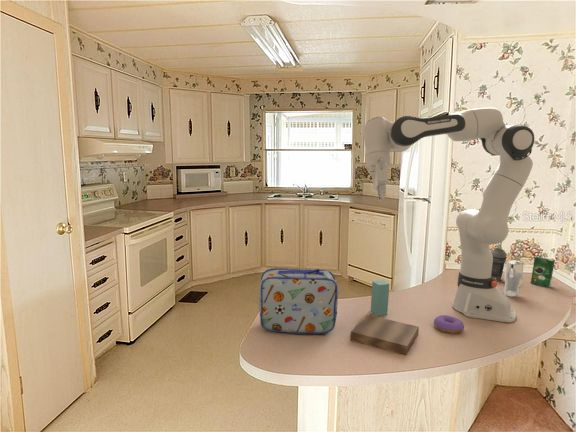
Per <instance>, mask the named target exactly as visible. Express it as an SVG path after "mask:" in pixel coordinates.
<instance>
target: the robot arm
mask: <svg viewBox="0 0 576 432" xmlns="http://www.w3.org/2000/svg"><path fill="white" fill-rule="evenodd" d="M439 135H447V137H448V138H449V139H450V140H451V141H453V142H469V141H473V140H477V139H479V140H480V141H481V144H482V145H481V146H482V147H483V149H484V150H485V152H487V154H490V155H492V156H499V163H498V165H497V168H496V169H495V171H494V173H493V174H492V176H491V177H490V179H489V180H488V182H487V184H486V185H485V187H484V189H483V191H482V203H481V206H480V209H476V208H475V209H474V208H473V209H472V208H469V209H464V210H462V211H460V212H459V213H458V214H457V217H456V218H455V219H456V220H455V222H456V223H455V224H456V226H457V229H458V233H459V241H460V249H461V257H460V258H461V259H460V266H459V273H458V274H457V290H456V293H455V297H454V299H453V303H452V304H451V306H452V308H453V309H454V310H456V311H458V312H460V313H462V314H463V315H464V316H466V317H467V318H474V319H480V320H488V321H494V322H501V323H509V324H510V323H513V322H515V321H516V319H517V313H516V311H515V310H514V309H512V308H511V303H510V298H508V296H506V295H504V294H503V291H501V290H500V289H499V288H498V287H497V286H498V282H497V281H496V278H493V277H492V276H491V272H492V263H493V255H492V253H491V252H492V251H491V248H490V245H500V243H501V242H502V243H503V242H504V241H505V240H506V239H507V237H508V234H509V225H508V220H509V215H510V213H511V210H512V207H513V204H514V203H515V201H516V200H517V198H518V196H519V194H520V193H521V191H522V189H523V187H524V186H525V184H526V182H527V180H528V179H529V177H530V173H531V172H532V169H533V164H534V163H533V160H532V158H531V157H530V156H531V154H532V151H533V147H534V144H535V134H534V131H533V129H531V128H530V127H528V126H526V125H522V124H505V122H504V116H503V114H502V112H501V111H500V110H499V109H498V108H496V107H478V108H471V109H466V110H465V109H464V110H461V111H458V112H454V113H451V114H448V115H447V114H446V115H440V116H439V115H438V116H432V117H425V118H424V117H423V118H422V117H421V118H420V117H416V116H411V115H405V116H400V117H399V118H397V119H395V122H393V121H390V120H388V119H387V118H385V117H384V116H376V117H374V118H371V119H370V120H368V121H366V122H365V124H364V127H363V139H364V142H363V143H364V146H365V150H366V151H365V163H366V168H367V169H368V170H369V171H370V175H371V180H372V185H373V188H374V191H377V196H378V201H380V202H381V201H384V200H385V198H387V194H386V190H387V189H386V188H387V187H386V185H387V184H388V183H389V175H388V170H389V167H390V166H391V165H392V158H391V152H392V153H402V152H405V151H407V150H408V149H410V148H411V146H413V145H414V144H416V143H417V142H418V141H420V140H421V139H423V138H427V137H433V136H439Z"/></svg>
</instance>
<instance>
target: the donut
mask: <svg viewBox="0 0 576 432" xmlns="http://www.w3.org/2000/svg"><path fill="white" fill-rule="evenodd" d="M433 324H434V327H435V328H436V329H437V330H438V331H441V332H443V333H445V334H454V335H456V334H459V333H460V334H461V333H462V332H463V331H464V330H465V323H464V322H463V320H461V319H459V318H458V317H455V316H453V315H452V316H451V315H447V314H441V315H438V316H436V317H435V318H434V320H433Z"/></svg>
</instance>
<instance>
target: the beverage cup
mask: <svg viewBox="0 0 576 432" xmlns="http://www.w3.org/2000/svg"><path fill="white" fill-rule="evenodd" d="M502 243H503V241H502V242H501V243H499V247H497V248H494V249H492V251H491V253H492V255H493V263H492V272H491V276H492V277H493V278H496V282H497V281H498V282H499V281H500V282H501V280H502V276H503V272H504V269H505V265H506V261H507V253H506V251H505V250H504V249H503V248H502Z"/></svg>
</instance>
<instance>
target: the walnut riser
mask: <svg viewBox="0 0 576 432" xmlns="http://www.w3.org/2000/svg"><path fill="white" fill-rule="evenodd" d="M419 329H420V328H419V326H418V325H414V324H413V325H412V324H409V323H405V322H401V321H397V320H393V319H388V318H384V317H379V316H377V315H375V316H374V315H371V314H366V315H365V317H364V318H362V320H361V321H359V322H358V324H356V325H355V326H354V328H352V330H351V331H350V341H352V342H354V343H360V344H362V345H363V344H364V345H367V346H371V347H375V348H379V349H380V350H381V349H382V350H386V351H389V352H391V353H392V352H393V353H397V354H400V355H405V356H407V355H408V354H409V352H410V350H411V348H412V347H413V345H414V343H415V341H416V340H417V337H418V336H419Z"/></svg>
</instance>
